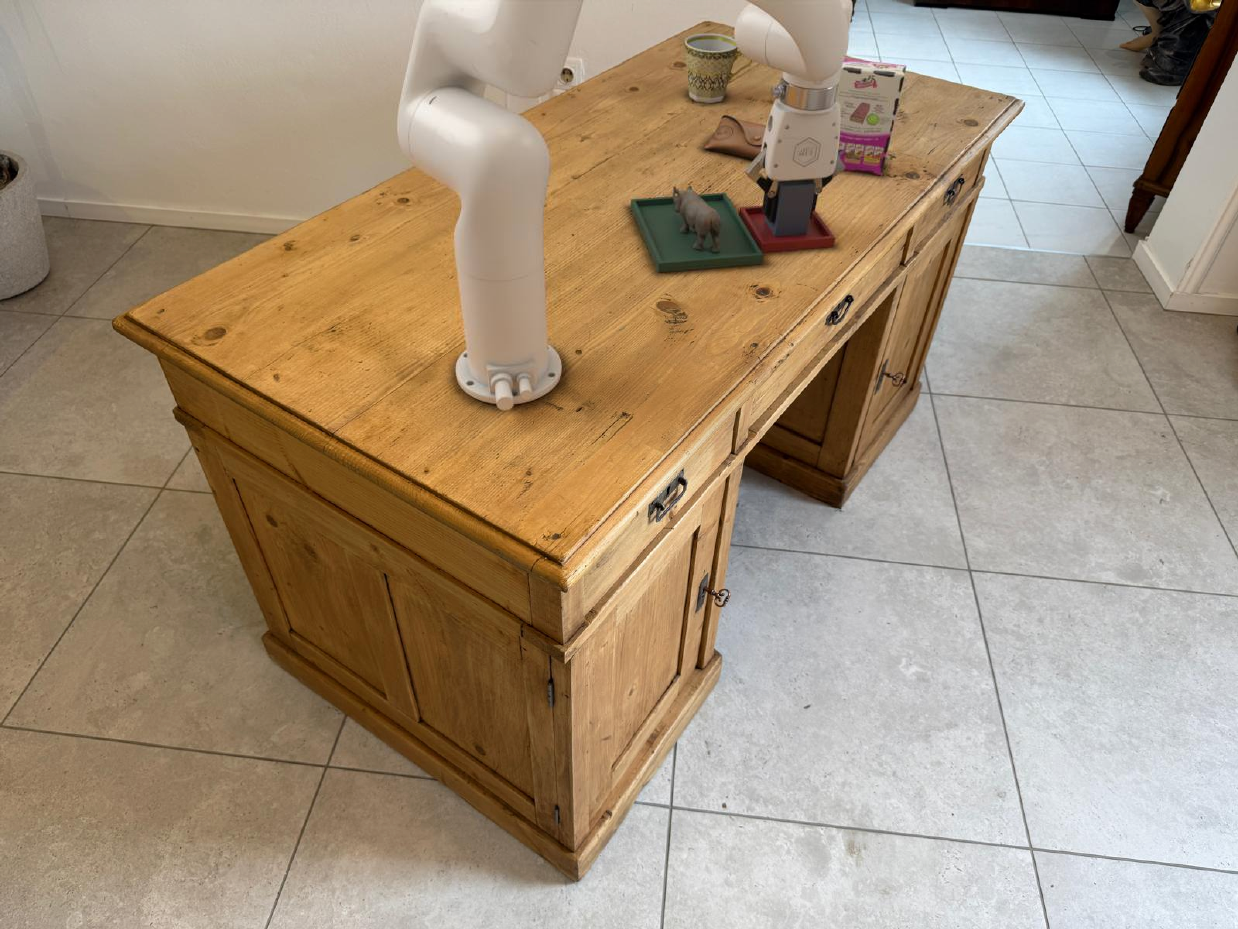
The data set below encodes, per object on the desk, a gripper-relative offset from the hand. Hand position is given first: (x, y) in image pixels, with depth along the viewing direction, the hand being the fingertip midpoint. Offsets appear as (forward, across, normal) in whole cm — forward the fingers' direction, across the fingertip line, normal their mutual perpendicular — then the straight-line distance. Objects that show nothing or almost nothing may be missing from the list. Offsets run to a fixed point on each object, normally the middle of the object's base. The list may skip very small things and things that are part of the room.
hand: (787, 215), depth 131 cm
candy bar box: (+3, +18, +20) cm, 27 cm away
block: (+2, 0, 0) cm, 2 cm away
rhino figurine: (+2, -14, +1) cm, 14 cm away
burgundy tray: (+3, 0, 0) cm, 3 cm away
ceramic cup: (+3, +4, +52) cm, 52 cm away
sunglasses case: (+3, +4, +27) cm, 27 cm away
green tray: (+3, -14, +1) cm, 14 cm away
